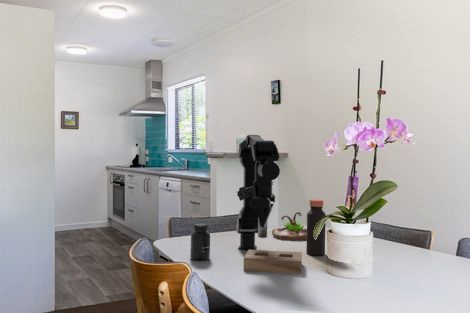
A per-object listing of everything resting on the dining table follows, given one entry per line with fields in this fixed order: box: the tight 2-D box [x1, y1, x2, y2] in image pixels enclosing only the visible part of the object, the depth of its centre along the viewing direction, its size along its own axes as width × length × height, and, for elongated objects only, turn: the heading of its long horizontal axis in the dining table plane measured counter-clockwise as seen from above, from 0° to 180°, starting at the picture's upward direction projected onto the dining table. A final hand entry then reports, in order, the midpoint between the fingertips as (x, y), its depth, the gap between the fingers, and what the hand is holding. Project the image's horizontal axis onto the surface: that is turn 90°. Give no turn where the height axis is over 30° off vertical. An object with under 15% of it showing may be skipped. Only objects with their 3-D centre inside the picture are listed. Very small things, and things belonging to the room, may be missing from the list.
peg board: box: [243, 249, 303, 275], centre depth 145 cm, size 12×18×4 cm, turn 81°
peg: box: [257, 218, 268, 239], centre depth 146 cm, size 3×3×10 cm
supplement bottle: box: [190, 223, 211, 262], centre depth 155 cm, size 7×7×12 cm
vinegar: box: [305, 199, 327, 257], centre depth 164 cm, size 7×7×20 cm
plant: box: [271, 211, 307, 242], centre depth 199 cm, size 20×20×11 cm
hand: (262, 226), depth 146 cm, fingers closed on peg, 3 cm apart
